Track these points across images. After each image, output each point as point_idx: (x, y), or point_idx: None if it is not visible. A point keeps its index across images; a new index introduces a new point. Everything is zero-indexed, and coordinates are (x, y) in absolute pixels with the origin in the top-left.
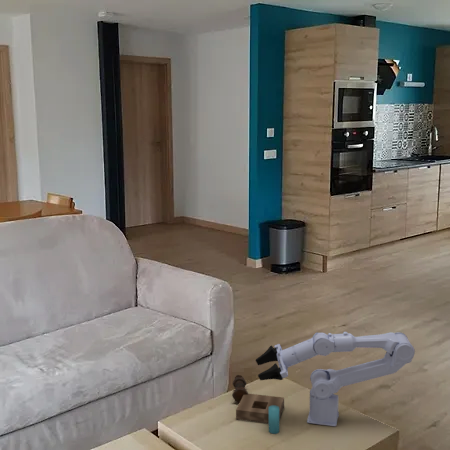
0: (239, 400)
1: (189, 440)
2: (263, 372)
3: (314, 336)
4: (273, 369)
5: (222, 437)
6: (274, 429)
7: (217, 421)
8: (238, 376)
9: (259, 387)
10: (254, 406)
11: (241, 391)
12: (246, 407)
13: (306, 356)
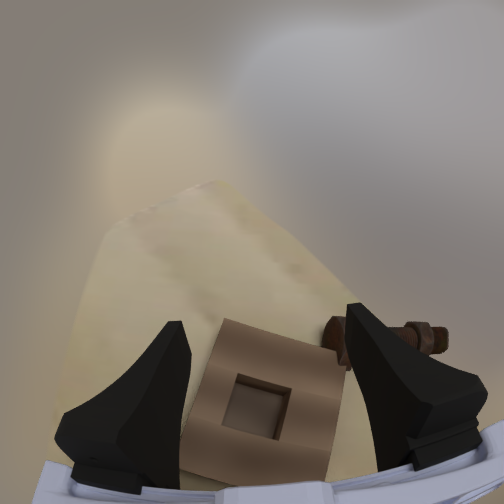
0: (325, 345)
1: (133, 215)
2: (156, 346)
3: None
4: (80, 407)
5: (125, 284)
6: None
7: (214, 280)
8: (439, 332)
9: None
10: (284, 393)
11: (340, 338)
12: (239, 355)
13: None
